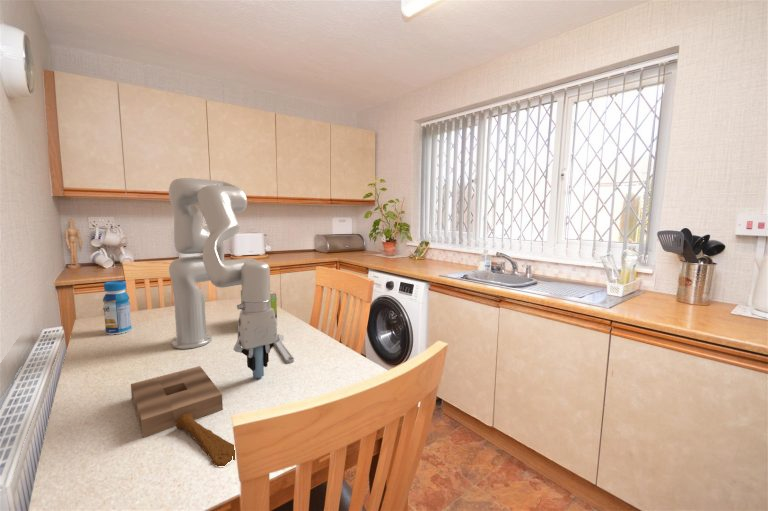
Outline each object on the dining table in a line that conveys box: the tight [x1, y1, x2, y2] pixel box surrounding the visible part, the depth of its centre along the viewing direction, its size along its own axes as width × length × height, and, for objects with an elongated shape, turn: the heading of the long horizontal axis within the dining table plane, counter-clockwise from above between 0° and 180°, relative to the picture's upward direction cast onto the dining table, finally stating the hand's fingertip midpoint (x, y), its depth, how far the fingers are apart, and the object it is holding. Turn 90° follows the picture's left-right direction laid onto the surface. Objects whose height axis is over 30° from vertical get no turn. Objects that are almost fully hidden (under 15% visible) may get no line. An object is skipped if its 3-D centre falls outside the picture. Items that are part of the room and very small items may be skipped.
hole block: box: [130, 365, 224, 438], centre depth 85 cm, size 20×16×4 cm
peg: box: [252, 346, 265, 379], centre depth 98 cm, size 3×3×10 cm
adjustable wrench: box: [274, 333, 295, 364], centre depth 119 cm, size 25×6×2 cm, turn 26°
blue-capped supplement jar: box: [102, 280, 132, 336], centre depth 133 cm, size 8×8×20 cm
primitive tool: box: [175, 413, 237, 467], centre depth 71 cm, size 19×6×4 cm, turn 59°
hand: (258, 366), depth 98 cm, fingers closed on peg, 3 cm apart
